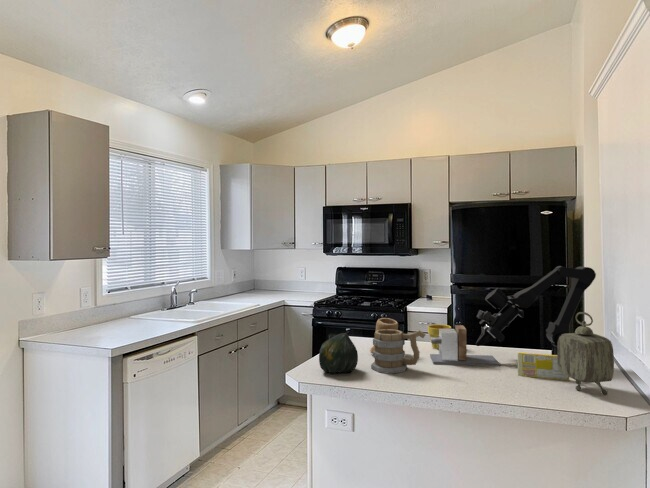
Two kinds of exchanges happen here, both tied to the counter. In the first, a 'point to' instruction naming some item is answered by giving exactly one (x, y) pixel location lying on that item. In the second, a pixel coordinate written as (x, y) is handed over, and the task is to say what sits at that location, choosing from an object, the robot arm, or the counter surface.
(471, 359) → the mat
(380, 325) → the stone cup
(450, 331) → the bearing block
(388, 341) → the tankard
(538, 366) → the candy box
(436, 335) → the plant pot
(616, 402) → the counter surface
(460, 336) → the wood block
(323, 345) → the squash
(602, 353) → the tabletop clock
